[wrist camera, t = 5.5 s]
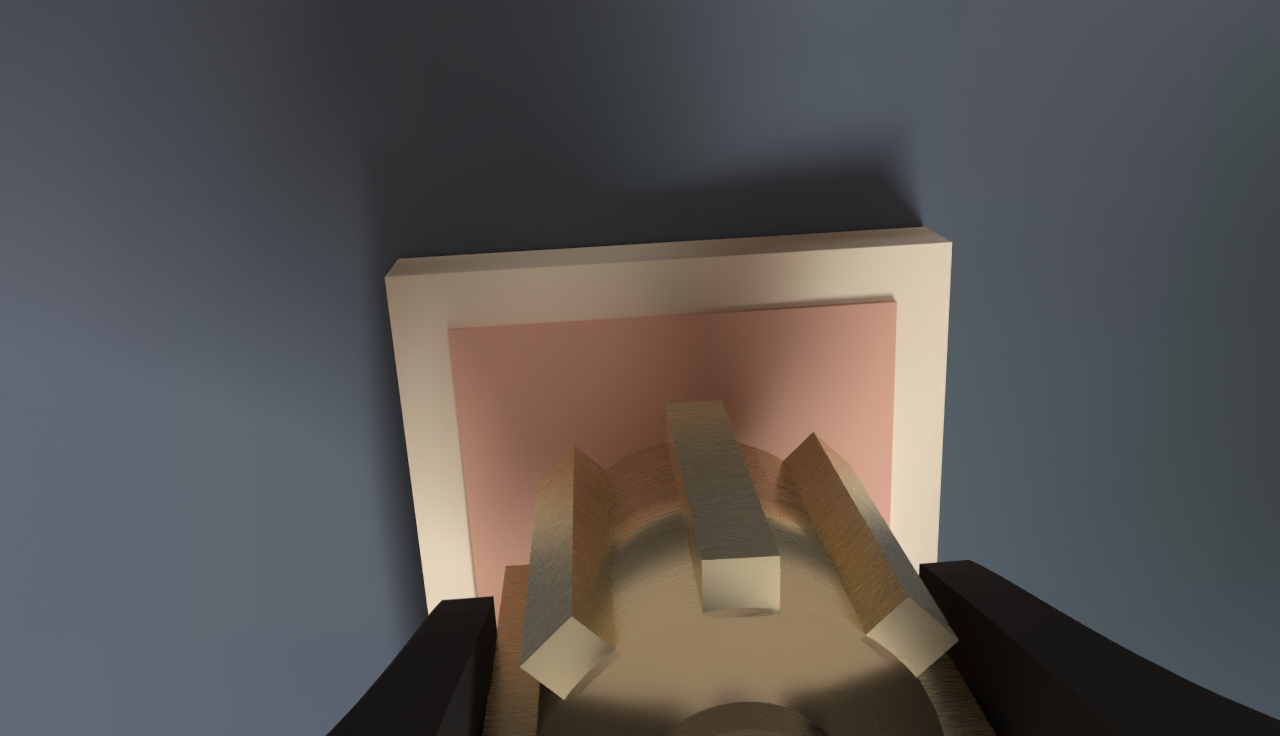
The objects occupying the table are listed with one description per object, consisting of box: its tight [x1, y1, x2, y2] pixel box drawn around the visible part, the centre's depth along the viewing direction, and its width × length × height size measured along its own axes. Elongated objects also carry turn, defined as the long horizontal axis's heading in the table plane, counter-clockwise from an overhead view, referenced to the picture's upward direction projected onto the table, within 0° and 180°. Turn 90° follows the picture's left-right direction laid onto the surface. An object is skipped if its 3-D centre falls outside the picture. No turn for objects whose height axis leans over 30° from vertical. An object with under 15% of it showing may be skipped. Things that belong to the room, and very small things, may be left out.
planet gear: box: [482, 400, 996, 736], centre depth 11 cm, size 5×5×5 cm
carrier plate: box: [385, 227, 952, 626], centre depth 17 cm, size 8×13×1 cm, turn 3°
